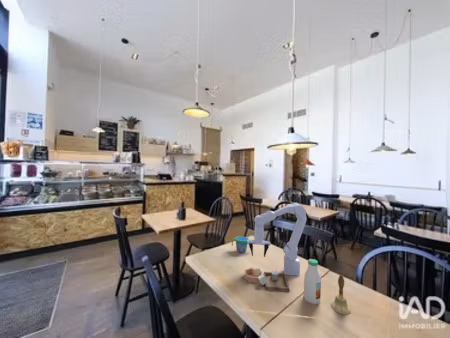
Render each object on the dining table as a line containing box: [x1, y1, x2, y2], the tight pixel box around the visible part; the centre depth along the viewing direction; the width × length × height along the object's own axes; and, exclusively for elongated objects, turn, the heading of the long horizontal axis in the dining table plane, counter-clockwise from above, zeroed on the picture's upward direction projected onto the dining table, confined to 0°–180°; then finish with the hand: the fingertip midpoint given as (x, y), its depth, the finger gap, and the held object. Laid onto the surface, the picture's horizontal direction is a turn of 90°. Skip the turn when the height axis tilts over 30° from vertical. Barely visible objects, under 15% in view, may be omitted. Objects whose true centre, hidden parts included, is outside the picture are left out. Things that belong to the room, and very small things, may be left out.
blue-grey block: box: [271, 270, 279, 280], centre depth 119 cm, size 3×4×3 cm
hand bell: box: [330, 274, 352, 315], centre depth 96 cm, size 8×8×16 cm
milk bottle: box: [303, 258, 322, 305], centre depth 101 cm, size 8×8×20 cm
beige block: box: [252, 267, 261, 276], centre depth 121 cm, size 3×4×3 cm
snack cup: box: [231, 235, 250, 254], centre depth 158 cm, size 16×10×10 cm
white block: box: [258, 273, 267, 286], centre depth 113 cm, size 3×4×3 cm
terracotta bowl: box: [244, 267, 264, 284], centre depth 120 cm, size 10×10×4 cm
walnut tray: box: [263, 271, 290, 292], centre depth 115 cm, size 12×16×2 cm
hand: (258, 255), depth 128 cm, fingers open, 7 cm apart
